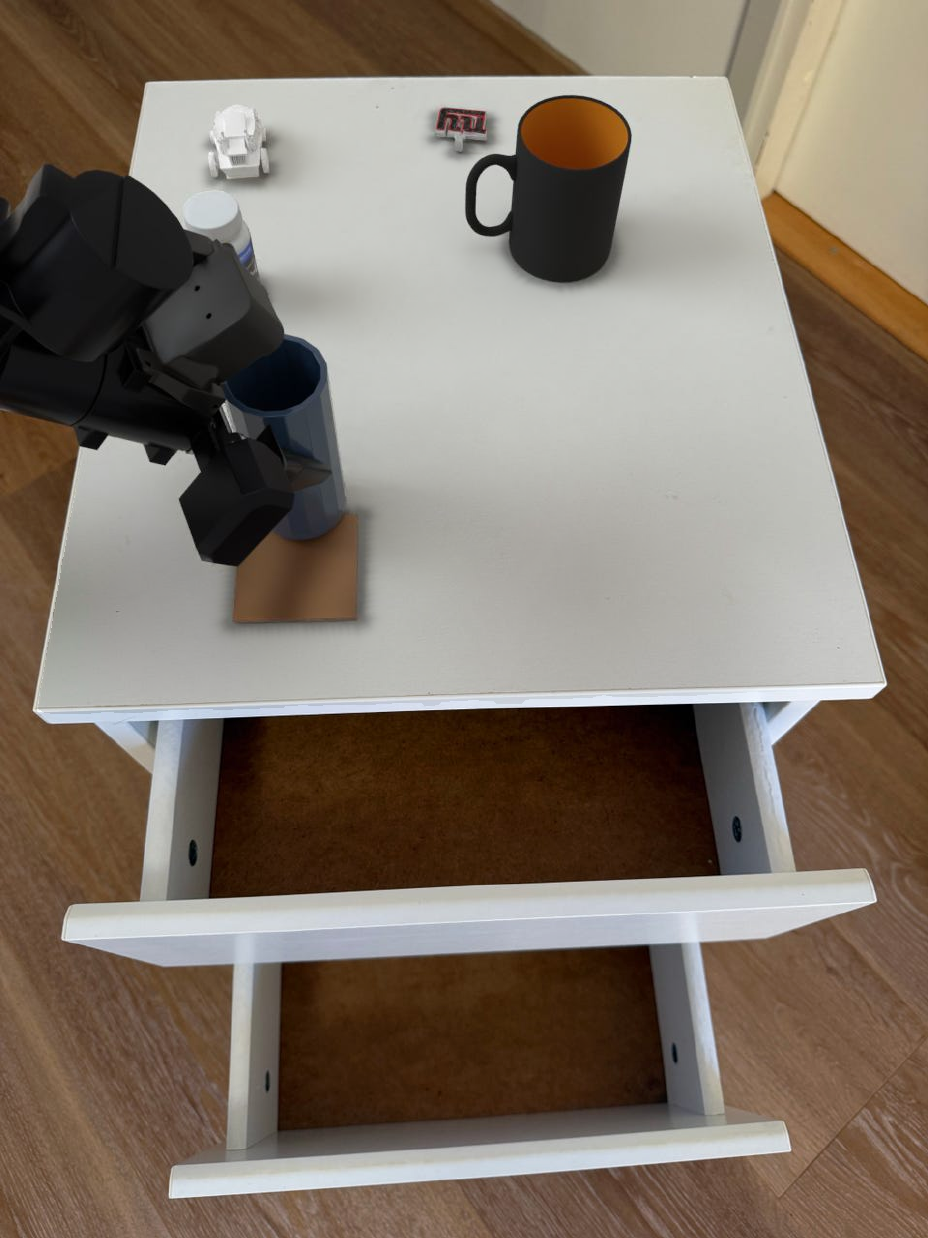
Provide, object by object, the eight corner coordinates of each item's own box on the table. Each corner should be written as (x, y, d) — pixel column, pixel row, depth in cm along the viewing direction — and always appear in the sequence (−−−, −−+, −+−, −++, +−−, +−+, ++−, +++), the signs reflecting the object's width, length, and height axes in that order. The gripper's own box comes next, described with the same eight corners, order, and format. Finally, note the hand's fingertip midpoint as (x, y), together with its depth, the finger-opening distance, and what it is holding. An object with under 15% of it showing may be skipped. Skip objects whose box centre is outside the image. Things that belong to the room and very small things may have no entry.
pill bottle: (259, 321, 75) (239, 233, 68) (198, 319, 75) (171, 231, 68) (266, 275, 78) (248, 186, 70) (207, 273, 78) (181, 184, 70)
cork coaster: (233, 623, 64) (232, 620, 63) (241, 519, 67) (240, 515, 67) (356, 620, 64) (356, 617, 64) (357, 516, 68) (357, 513, 67)
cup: (243, 526, 66) (202, 400, 54) (277, 457, 68) (245, 322, 57) (327, 550, 65) (303, 428, 54) (358, 479, 68) (342, 348, 56)
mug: (456, 217, 81) (458, 102, 72) (598, 205, 82) (618, 89, 73) (471, 291, 77) (475, 179, 68) (620, 277, 78) (643, 165, 69)
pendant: (490, 109, 86) (485, 142, 83) (490, 121, 87) (484, 154, 84) (439, 104, 86) (432, 137, 83) (439, 116, 87) (432, 149, 84)
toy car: (213, 191, 82) (202, 147, 78) (210, 127, 85) (200, 83, 82) (271, 186, 82) (263, 142, 78) (265, 123, 86) (257, 78, 82)
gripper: (218, 396, 41) (454, 468, 53) (107, 123, 49) (336, 240, 61) (92, 553, 47) (332, 586, 59) (9, 286, 54) (237, 364, 66)
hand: (310, 437), depth 61 cm, fingers closed on cup, 6 cm apart
